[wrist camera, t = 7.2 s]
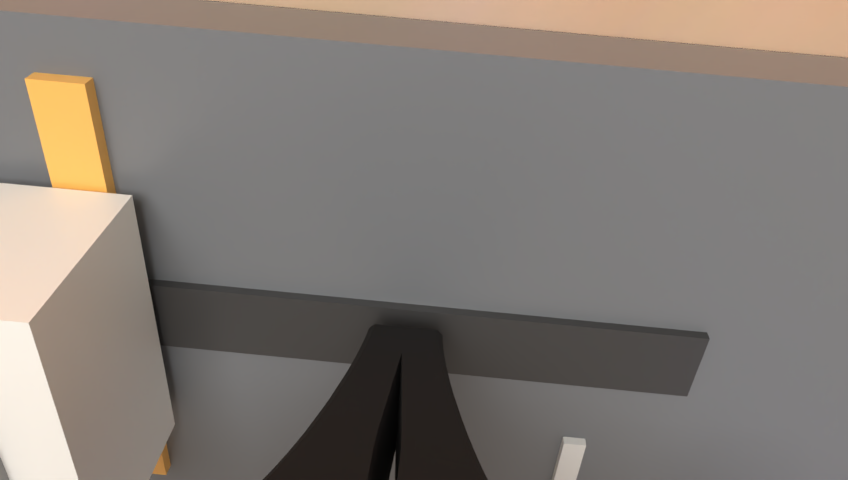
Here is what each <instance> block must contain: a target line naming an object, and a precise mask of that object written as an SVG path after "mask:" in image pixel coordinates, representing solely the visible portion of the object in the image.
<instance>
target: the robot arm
mask: <svg viewBox="0 0 848 480" xmlns="http://www.w3.org/2000/svg"><path fill="white" fill-rule="evenodd" d="M395 450H396V454H395ZM394 454H395V480H488V479H487V477H486V475H485V473H484V471H483V469H482V467H481V465H480V462H479V460H478V458H477V456H476V453H475V451H474V449H473V446H472V444H471V441H470V439H469V436H468V434H467V431H466V429H465V426H464V423H463V421H462V418H461V415H460V412H459V409H458V406H457V403H456V400H455V397H454V394H453V390H452V387H451V383H450V379H449V375H448V371H447V367H446V362H445V357H444V350H443V335H442V334H441V333H440V332H439V331H438V330H433V329H423V328H412V327H402V326H391V325H380V324H374V325H373V326H371V327H370V328H369V329H368V332H367V335H366V337H365V339H364V341H363V343H362V345H361V347H360V349H359V351H358V353H357V355H356V357H355V359H354V360H353V362H352V364H351V366H350V367H349V369H348V371H347V372H346V374H345V376H344V377H343V379H342V380H341V382H340V383H339V385H338V386H337V388H336V389H335V391H334V393H333V394H332V396H331V397H330V399H329V400H328V401H327V403H326V404H325V406H324V407H323V408H322V410H321V411H320V412H319V414H318V415H317V416H316V418H315V419H314V420H313V422H312V423H311V424H310V426H309V427H308V428H307V430H306V431H305V432H304V434H303V435H302V436H301V437H300V438H299V440H298V441H297V442H296V443H295V444H294V446H293V447H292V448H291V449H290V450H289V452H288V453H287V454H286V455H285V456H284V457H283V458H282V459H281V461H280V462H279V463H278V464H277V465H276V466H275V467H274V468H273V469H272V470H271V471H270V472H269V473H268V475H267V476H266V477H265V478H264V479H263V480H389V477H390V473H391V468H392V464H393V459H394Z"/></svg>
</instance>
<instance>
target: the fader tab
mask: <svg viewBox="0 0 848 480" xmlns="http://www.w3.org/2000/svg"><path fill="white" fill-rule="evenodd" d="M174 425H175V422H174V416H173V411H172V406H171V400H170V395H169V389H168V384H167V379H166V373H165V368H164V363H163V357H162V352H161V347H160V341H159V336H158V331H157V325H156V320H155V314H154V309H153V304H152V298H151V293H150V288H149V282H148V277H147V272H146V266H145V261H144V256H143V250H142V245H141V239H140V234H139V229H138V223H137V218H136V213H135V207H134V202H133V197H132V195H125V194H114V193H103V192H93V191H82V190H71V189H61V188H50V187H39V186H29V185H18V184H7V183H0V480H149V479H150V477H151V475H152V473H153V471H154V468H155V466H156V464H157V462H158V460H159V458H160V455H161V453H162V451H163V449H164V447H165V445H166V443H167V440H168V438H169V436H170V434H171V432H172V430H173V427H174Z"/></svg>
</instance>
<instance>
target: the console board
mask: <svg viewBox="0 0 848 480" xmlns="http://www.w3.org/2000/svg"><path fill="white" fill-rule="evenodd" d="M0 183H7V184H18V185H29V186H39V187H50V188H61V189H71V190H82V191H93V192H103V193H114V194H125V195H132V197H133V202H134V207H135V213H136V218H137V223H138V229H139V234H140V239H141V245H142V250H143V256H144V261H145V266H146V272H147V277H148V282H149V288H150V293H151V298H152V304H153V309H154V314H155V320H156V325H157V331H158V336H159V341H160V347H161V352H162V357H163V363H164V368H165V373H166V379H167V384H168V389H169V395H170V400H171V406H172V411H173V416H174V422H175V425H174V427H173V430H172V432H171V434H170V436H169V438H168V440H167V443H166V445H165V447H164V449H163V451H162V453H161V455H160V458H159V460H158V462H157V464H156V466H155V468H154V471H153V473H152V475H151V477H150V479H149V480H263V479H264V478H265V477H266V476H267V475H268V473H269V472H270V471H271V470H272V469H273V468H274V467H275V466H276V465H277V464H278V463H279V462H280V461H281V459H282V458H283V457H284V456H285V455H286V454H287V453H288V452H289V450H290V449H291V448H292V447H293V446H294V444H295V443H296V442H297V441H298V440H299V438H300V437H301V436H302V435H303V434H304V432H305V431H306V430H307V428H308V427H309V426H310V424H311V423H312V422H313V420H314V419H315V418H316V416H317V415H318V414H319V412H320V411H321V410H322V408H323V407H324V406H325V404H326V403H327V401H328V400H329V399H330V397H331V396H332V394H333V393H334V391H335V389H336V388H337V386H338V385H339V383H340V382H341V380H342V379H343V377H344V376H345V374H346V372H347V371H348V369H349V367H350V366H351V364H352V362H353V360H354V359H355V357H356V355H357V353H358V351H359V349H360V347H361V345H362V343H363V341H364V339H365V337H366V335H367V332H368V329H369V328H370V327H371V326H373V325H374V324H380V325H391V326H402V327H412V328H423V329H433V330H438V331H439V332H440V333H441V334H442V335H443V350H444V357H445V362H446V367H447V371H448V375H449V379H450V383H451V387H452V390H453V394H454V397H455V400H456V403H457V406H458V409H459V412H460V415H461V418H462V421H463V423H464V426H465V429H466V431H467V434H468V436H469V439H470V441H471V444H472V446H473V449H474V451H475V453H476V456H477V458H478V460H479V462H480V465H481V467H482V469H483V471H484V473H485V475H486V477H487V479H488V480H848V58H843V57H832V56H821V55H810V54H798V53H787V52H776V51H765V50H754V49H743V48H731V47H720V46H709V45H698V44H687V43H675V42H664V41H653V40H642V39H631V38H620V37H608V36H597V35H586V34H575V33H564V32H552V31H541V30H530V29H519V28H508V27H497V26H485V25H474V24H463V23H452V22H441V21H430V20H418V19H407V18H396V17H385V16H374V15H362V14H351V13H340V12H329V11H318V10H307V9H295V8H284V7H273V6H262V5H251V4H239V3H228V2H217V1H206V0H0ZM395 454H396V450H395ZM395 454H394V459H393V464H392V468H391V473H390V477H389V480H395Z"/></svg>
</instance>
